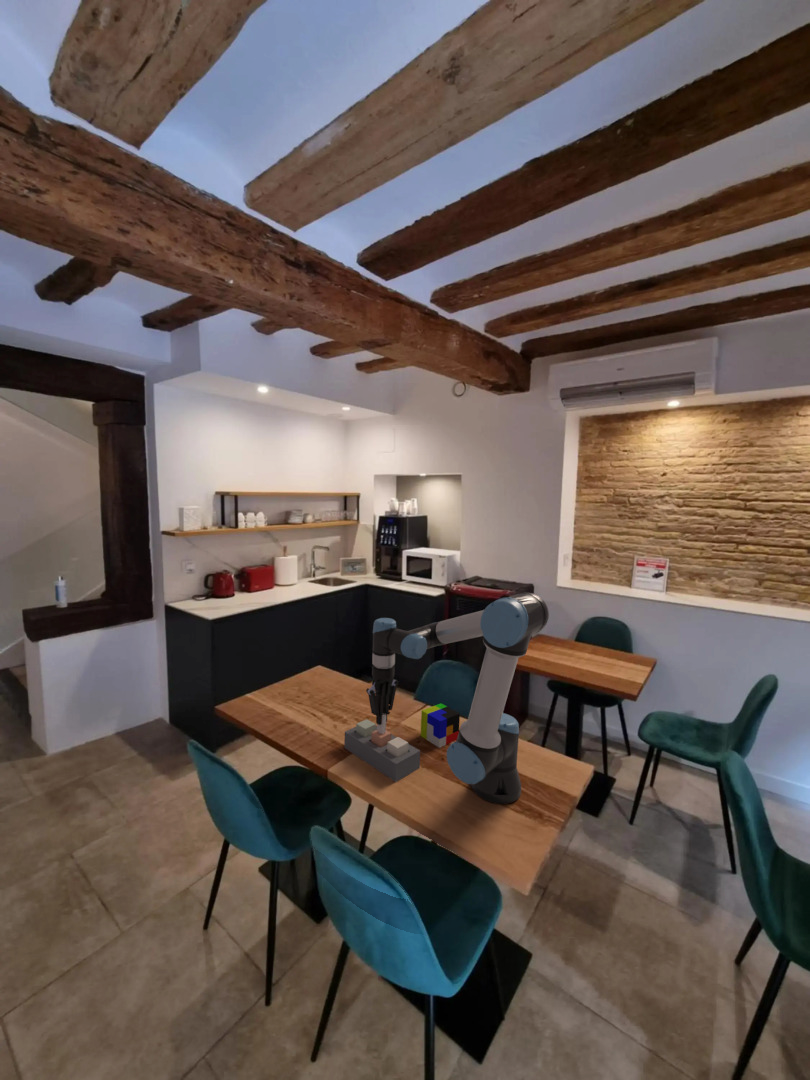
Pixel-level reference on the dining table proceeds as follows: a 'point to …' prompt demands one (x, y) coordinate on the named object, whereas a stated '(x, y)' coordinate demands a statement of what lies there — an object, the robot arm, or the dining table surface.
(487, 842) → the dining table surface
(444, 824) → the dining table surface
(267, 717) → the dining table surface
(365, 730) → the key sage
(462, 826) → the dining table surface
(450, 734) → the puzzle toy
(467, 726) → the robot arm
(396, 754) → the key ivory
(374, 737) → the key terracotta
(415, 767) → the console
